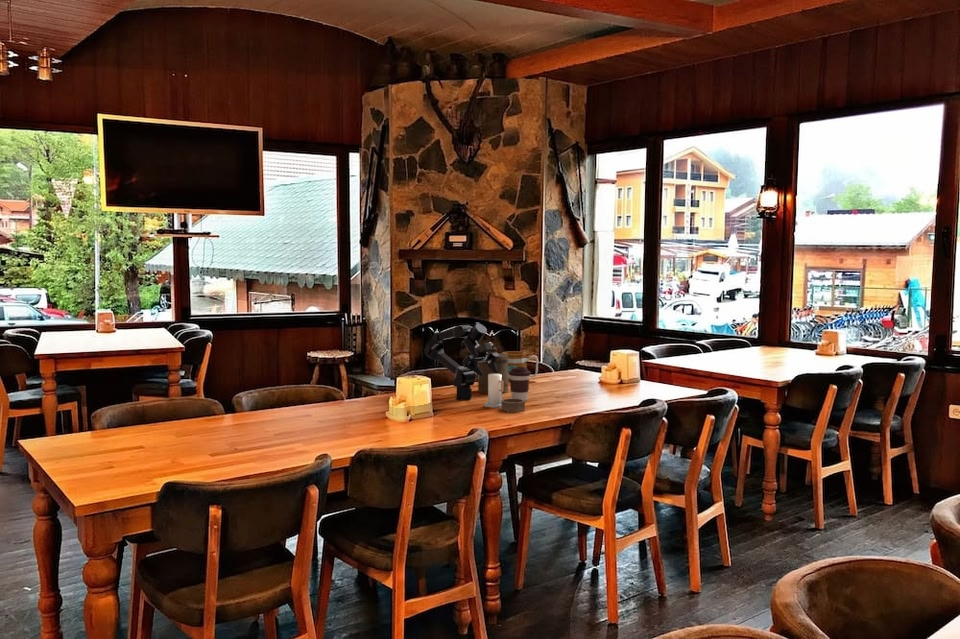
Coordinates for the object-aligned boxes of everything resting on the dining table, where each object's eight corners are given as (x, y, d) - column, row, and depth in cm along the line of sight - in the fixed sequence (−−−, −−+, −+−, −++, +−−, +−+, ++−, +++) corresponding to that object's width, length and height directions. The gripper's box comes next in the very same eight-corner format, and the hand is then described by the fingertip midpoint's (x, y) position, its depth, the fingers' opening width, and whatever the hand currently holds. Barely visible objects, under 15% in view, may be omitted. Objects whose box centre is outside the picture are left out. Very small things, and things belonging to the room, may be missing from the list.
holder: (496, 409, 331) (496, 400, 331) (513, 406, 338) (513, 397, 338) (512, 413, 324) (512, 403, 323) (529, 410, 330) (529, 400, 330)
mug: (499, 382, 402) (499, 354, 400) (503, 378, 415) (503, 351, 414) (537, 383, 398) (537, 355, 397) (539, 379, 412) (539, 351, 410)
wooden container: (489, 387, 386) (489, 344, 384) (514, 390, 377) (514, 346, 375) (472, 392, 374) (472, 347, 372) (497, 395, 365) (497, 349, 363)
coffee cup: (530, 398, 357) (530, 366, 356) (529, 402, 348) (530, 369, 346) (509, 397, 358) (509, 366, 357) (508, 401, 348) (508, 369, 347)
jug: (485, 403, 340) (485, 374, 338) (495, 401, 344) (495, 373, 342) (497, 406, 334) (497, 376, 333) (507, 404, 338) (507, 375, 336)
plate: (483, 407, 335) (483, 405, 335) (484, 403, 345) (484, 401, 345) (506, 408, 334) (506, 406, 334) (506, 403, 344) (506, 401, 344)
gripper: (466, 337, 337) (483, 365, 330) (497, 335, 350) (513, 361, 343) (454, 353, 344) (471, 380, 336) (485, 350, 356) (501, 376, 349)
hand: (489, 374), depth 341 cm, fingers open, 9 cm apart
